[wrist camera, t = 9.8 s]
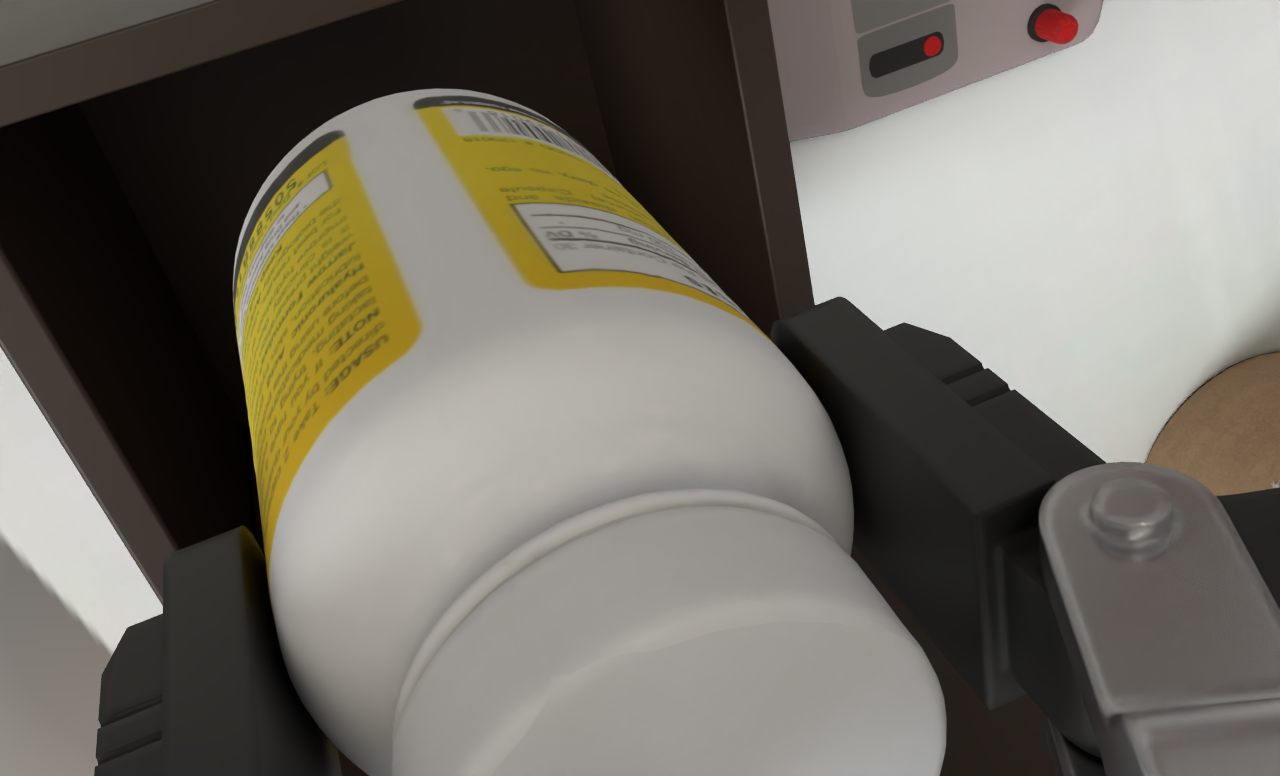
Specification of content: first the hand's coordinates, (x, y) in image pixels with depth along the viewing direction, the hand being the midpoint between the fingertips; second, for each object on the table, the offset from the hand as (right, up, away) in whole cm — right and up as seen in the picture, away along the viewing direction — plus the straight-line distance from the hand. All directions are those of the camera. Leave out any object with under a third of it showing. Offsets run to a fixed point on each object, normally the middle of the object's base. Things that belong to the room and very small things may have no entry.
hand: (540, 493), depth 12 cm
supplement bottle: (-2, +3, +5) cm, 6 cm away
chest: (-6, +7, +19) cm, 21 cm away
